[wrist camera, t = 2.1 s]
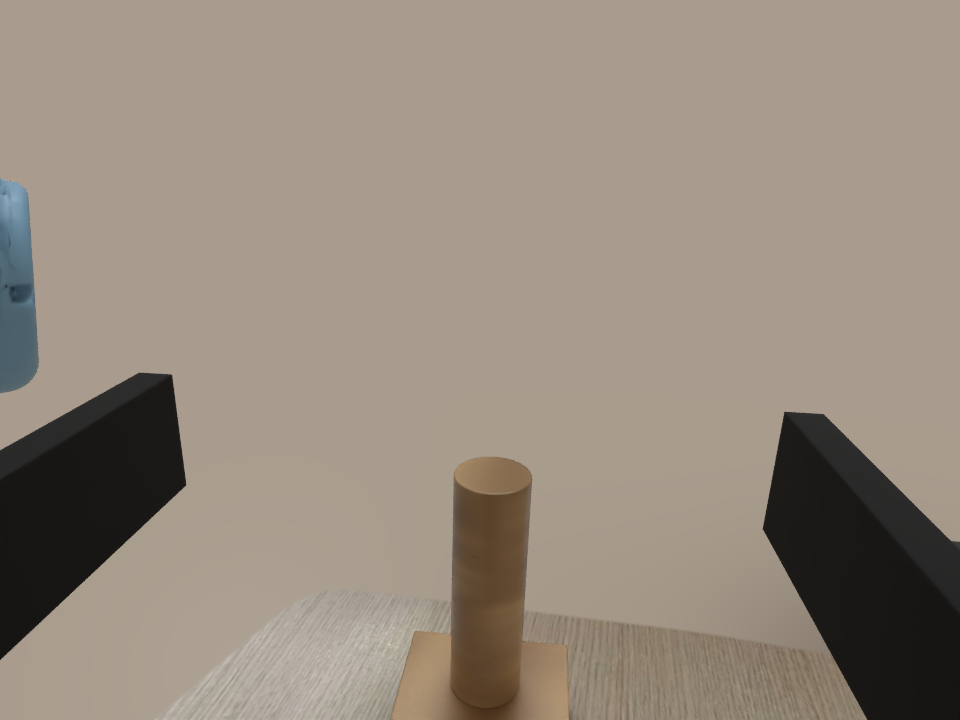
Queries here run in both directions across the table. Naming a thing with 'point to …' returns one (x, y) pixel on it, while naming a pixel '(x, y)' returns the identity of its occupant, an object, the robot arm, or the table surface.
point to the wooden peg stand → (486, 614)
